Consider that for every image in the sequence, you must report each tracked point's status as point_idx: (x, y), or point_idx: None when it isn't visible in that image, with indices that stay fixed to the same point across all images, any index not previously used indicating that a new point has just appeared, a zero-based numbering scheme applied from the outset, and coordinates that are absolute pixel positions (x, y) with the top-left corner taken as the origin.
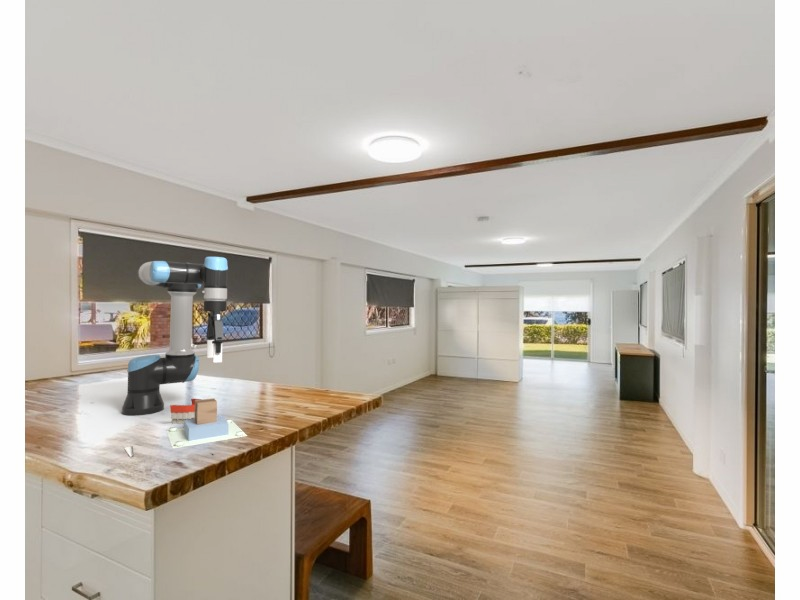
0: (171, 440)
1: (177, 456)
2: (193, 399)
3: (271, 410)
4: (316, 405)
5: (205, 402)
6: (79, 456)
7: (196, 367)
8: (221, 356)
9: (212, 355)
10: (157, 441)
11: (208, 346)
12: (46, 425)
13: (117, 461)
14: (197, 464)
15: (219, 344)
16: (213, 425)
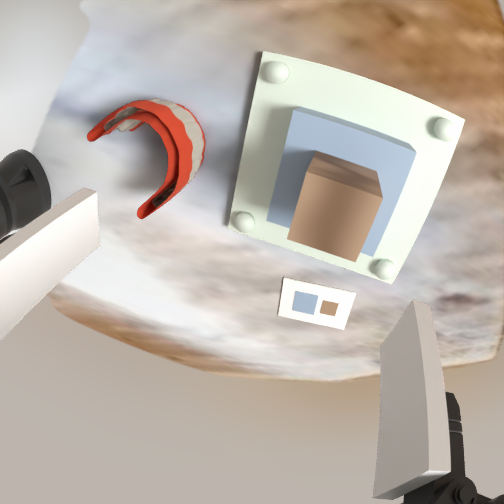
0: (330, 259)
1: (423, 284)
2: (89, 132)
3: None
4: None
5: (360, 235)
6: (267, 358)
7: None
8: (434, 347)
9: (87, 220)
10: (280, 261)
11: (37, 294)
12: (66, 308)
13: (347, 344)
14: (493, 283)
15: (454, 478)
16: (399, 195)
